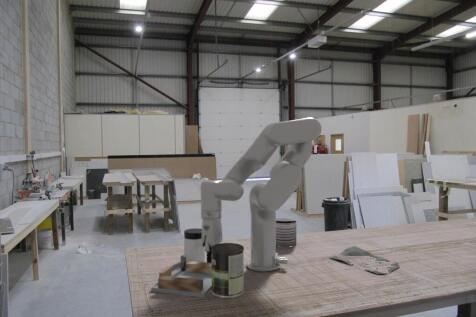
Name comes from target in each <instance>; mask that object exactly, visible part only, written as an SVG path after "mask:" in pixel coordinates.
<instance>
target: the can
mask: <svg viewBox="0 0 476 317" xmlns="http://www.w3.org/2000/svg"><path fill="white" fill-rule="evenodd" d="M295 245H296V246H297V219H295V218H284V217H283V218H281V217H279V218H277V217H276V246H279V247H278V248H280V247H290V246H295ZM296 246H295V247H296ZM290 248H291V247H290Z"/></svg>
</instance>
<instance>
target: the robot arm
mask: <svg viewBox="0 0 476 317" xmlns="http://www.w3.org/2000/svg"><path fill="white" fill-rule="evenodd" d="M322 129H323V128H322V125H321V123H320V121H319V120H318V119H316V118H314V117H306V118H305V117H304V118H298V119H293V120H286V121H278V122H273V123H269V124H267V125H266V126H265V127H264V128H263V130H261V132H260V133H259V134H258V135H257V137H256V138H255V140H254V141H253V143H252V144H251V145H250V146H249V148H248V149H247V150H246V151H245V153H243V155H242V156H241V157H240V158H239V160H238V161H236V163H235V164H234V165H233V166H232V167H231V168H230V169H229V171H228V172H227V173H226V175H225V177H224V178H223V179H222V180H221V181H219V180H217V179H216V180H215V179H214V180H213V179H210V180H203V181H202V182H201V184H200V219H201V220H202V222H201V223H202V224H201V229H202V246H203V247H205V254H206V263H212V261H211V260H212V259H211V247H212V246H214V245H216V244H221V243H223V225H222V218H223V217H222V212H223V211H222V207H223V206H222V203H223V202H222V201H228V202H229V201H230V202H236V201H239V200H240V199H241V198H242V197H243V195H244V192H245V191H244V187H243V184H245V182H246V181H247V180H248V179H249V177H250V176H252V175H253V174H255V172H258V171H260V170H261V169H262V168H264V167H265V165H266V164H267V163H268V161H270V159H271V157H272V156H273V155H274V153H275V152H276V151H277V150H278V149H279V147H280V146H282V147H283V146H289V147H288V149H287V150H286V152H285V153H284V154H283V155H282V156H281V157H280V159H279V160H277V162H276V163H275V164H274V165H273V166H272V167H271V169H270V171H269V180H268V181H267V182H258V183H255V184H254V185H253V186H252V187H251V189H250V192H249V194H248V195H249V196H248V198H249V199H248V200H249V209H250V210H249V211H250V260H248V261H247V262H246V267H247V268H248V269H250V270H252V271H256V272H273V271H277V270H278V269H280V267H281V264H282V265H288V263H289V262H288V258H286V257H285V256H284V257H282V256H279V253H278V252H277V247H276V219H277V215H276V211H278V210H279V209H280V208H282V206H284V204H285V203H286V202H287V201H288V200H289V199H290V197H291V196H292V195H293V194H294V193H295V191H296V190H297V189H298V188H299V187H300V185H301V183H302V181H303V171H302V169H303V168H304V166H305V165H306V164H307V162H308V161H309V159H310V158H311V155H312V153H313V152H312V151H313V141H315V140H317V139H318V138H319V137H320V135H321V134H322Z"/></svg>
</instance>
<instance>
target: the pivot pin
mask: <svg viewBox="0 0 476 317" xmlns="http://www.w3.org/2000/svg"><path fill="white" fill-rule="evenodd" d="M180 267H181V271H186V255H184V254H183V255H180Z"/></svg>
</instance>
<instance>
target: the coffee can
mask: <svg viewBox="0 0 476 317" xmlns="http://www.w3.org/2000/svg"><path fill="white" fill-rule="evenodd" d="M244 250H245V247H244V246H243V244H240V243H234V242H233V243H232V242H221V243H220V244H216V245H214V246H212V247H211V259H212V260H211V261H212V290H211V291H210V292H211V294H212V295H213V296H214V297H216V298H221V299H233V298H237V297H240V296H242V295H243V294H244V292H245V291H244Z"/></svg>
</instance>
